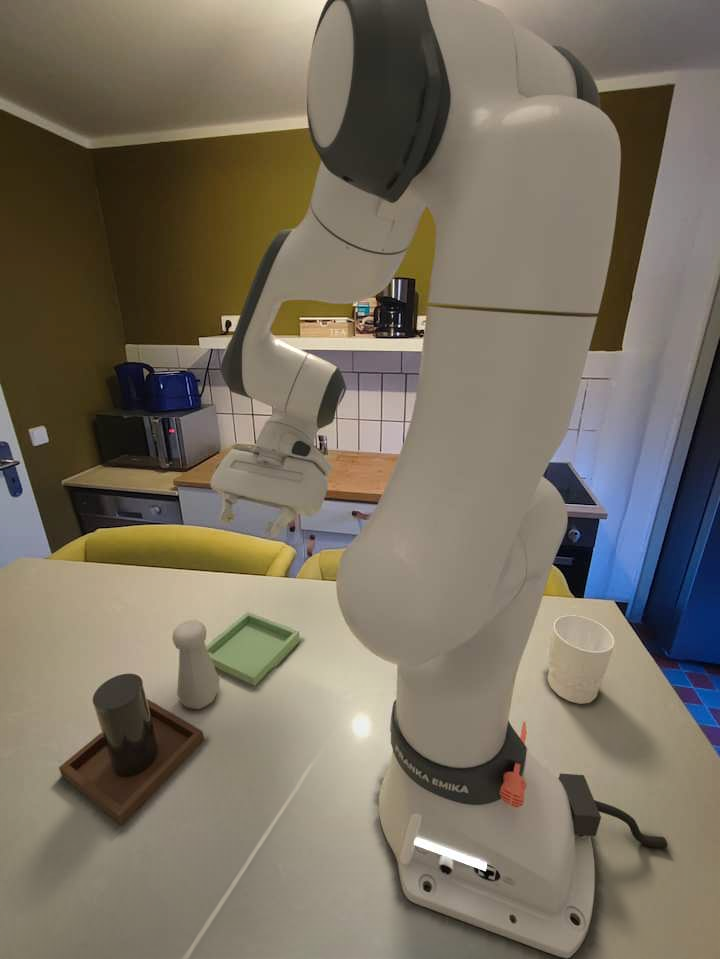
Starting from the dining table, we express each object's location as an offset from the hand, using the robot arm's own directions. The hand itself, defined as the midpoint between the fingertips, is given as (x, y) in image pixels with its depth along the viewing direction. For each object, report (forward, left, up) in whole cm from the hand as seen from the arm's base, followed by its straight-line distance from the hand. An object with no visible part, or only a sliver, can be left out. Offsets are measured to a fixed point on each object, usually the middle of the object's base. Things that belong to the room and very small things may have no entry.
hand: (246, 528), depth 66 cm
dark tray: (0, +23, -22) cm, 32 cm away
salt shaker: (0, +13, -22) cm, 26 cm away
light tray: (0, +2, -22) cm, 22 cm away
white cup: (-48, -15, -22) cm, 55 cm away
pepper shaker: (0, +23, -22) cm, 32 cm away
